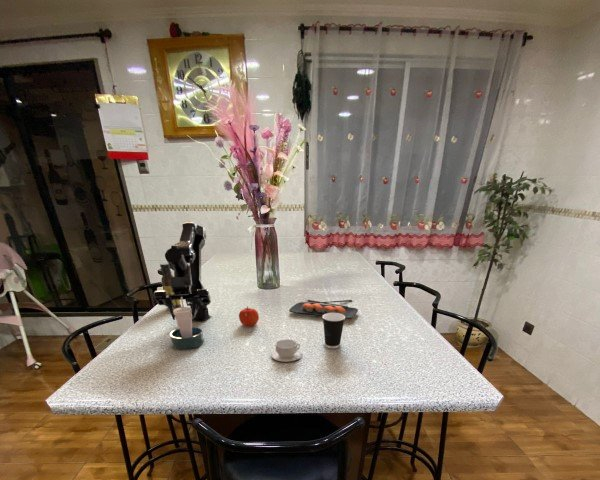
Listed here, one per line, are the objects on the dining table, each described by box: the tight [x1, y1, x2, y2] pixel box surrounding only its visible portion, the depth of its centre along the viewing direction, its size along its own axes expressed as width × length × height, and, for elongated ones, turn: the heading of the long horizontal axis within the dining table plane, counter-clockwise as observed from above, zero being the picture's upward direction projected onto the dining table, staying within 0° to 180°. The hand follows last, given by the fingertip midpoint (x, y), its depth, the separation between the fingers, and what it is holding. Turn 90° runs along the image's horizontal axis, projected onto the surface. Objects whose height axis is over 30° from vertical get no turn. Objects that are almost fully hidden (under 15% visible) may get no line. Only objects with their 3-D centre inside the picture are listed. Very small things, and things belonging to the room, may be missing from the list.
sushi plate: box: [289, 299, 359, 320], centre depth 164 cm, size 29×30×4 cm
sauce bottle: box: [159, 262, 182, 310], centre depth 162 cm, size 6×6×20 cm
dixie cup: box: [321, 313, 346, 350], centre depth 126 cm, size 8×8×11 cm
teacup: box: [271, 338, 302, 363], centre depth 121 cm, size 10×10×5 cm
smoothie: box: [173, 297, 193, 338], centre depth 126 cm, size 6×6×14 cm
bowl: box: [169, 326, 205, 351], centre depth 130 cm, size 11×11×4 cm
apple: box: [238, 306, 260, 328], centre depth 145 cm, size 8×8×8 cm
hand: (183, 319), depth 126 cm, fingers closed on smoothie, 6 cm apart
